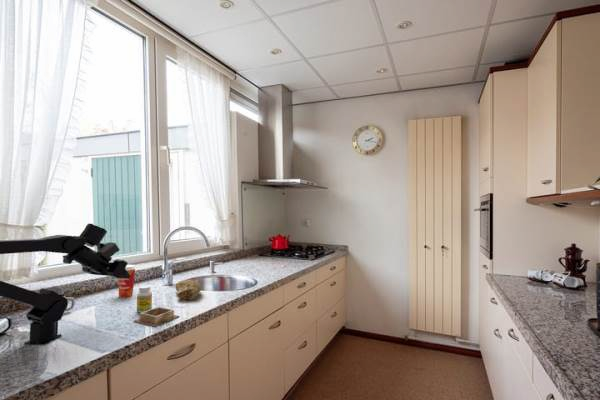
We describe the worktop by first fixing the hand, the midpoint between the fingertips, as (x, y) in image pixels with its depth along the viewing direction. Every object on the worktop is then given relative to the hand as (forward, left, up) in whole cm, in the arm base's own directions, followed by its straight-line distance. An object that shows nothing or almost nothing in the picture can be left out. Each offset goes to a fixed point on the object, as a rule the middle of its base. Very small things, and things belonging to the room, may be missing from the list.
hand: (121, 276), depth 116 cm
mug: (-1, +23, -15) cm, 28 cm away
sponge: (+29, -14, -15) cm, 36 cm away
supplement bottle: (+6, -6, -15) cm, 17 cm away
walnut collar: (-3, -16, -15) cm, 22 cm away
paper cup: (+25, +13, -15) cm, 32 cm away
